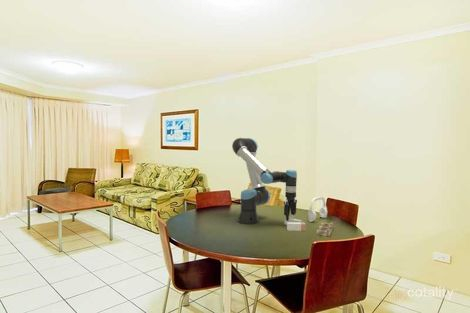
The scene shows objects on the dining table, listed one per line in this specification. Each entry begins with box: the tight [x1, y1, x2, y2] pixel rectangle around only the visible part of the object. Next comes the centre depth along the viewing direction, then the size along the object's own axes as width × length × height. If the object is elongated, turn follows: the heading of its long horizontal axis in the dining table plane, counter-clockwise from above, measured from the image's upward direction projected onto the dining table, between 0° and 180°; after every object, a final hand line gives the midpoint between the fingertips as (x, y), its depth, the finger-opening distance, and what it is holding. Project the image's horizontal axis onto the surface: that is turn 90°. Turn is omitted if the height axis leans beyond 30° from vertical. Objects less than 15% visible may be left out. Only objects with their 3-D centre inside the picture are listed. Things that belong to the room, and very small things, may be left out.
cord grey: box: [283, 217, 304, 226], centre depth 205 cm, size 12×4×4 cm, turn 45°
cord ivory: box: [286, 221, 307, 232], centre depth 195 cm, size 12×4×4 cm, turn 85°
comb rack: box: [316, 221, 334, 238], centre depth 191 cm, size 8×21×5 cm, turn 155°
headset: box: [307, 196, 328, 222], centre depth 221 cm, size 20×7×18 cm, turn 131°
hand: (289, 224), depth 207 cm, fingers closed on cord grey, 4 cm apart
